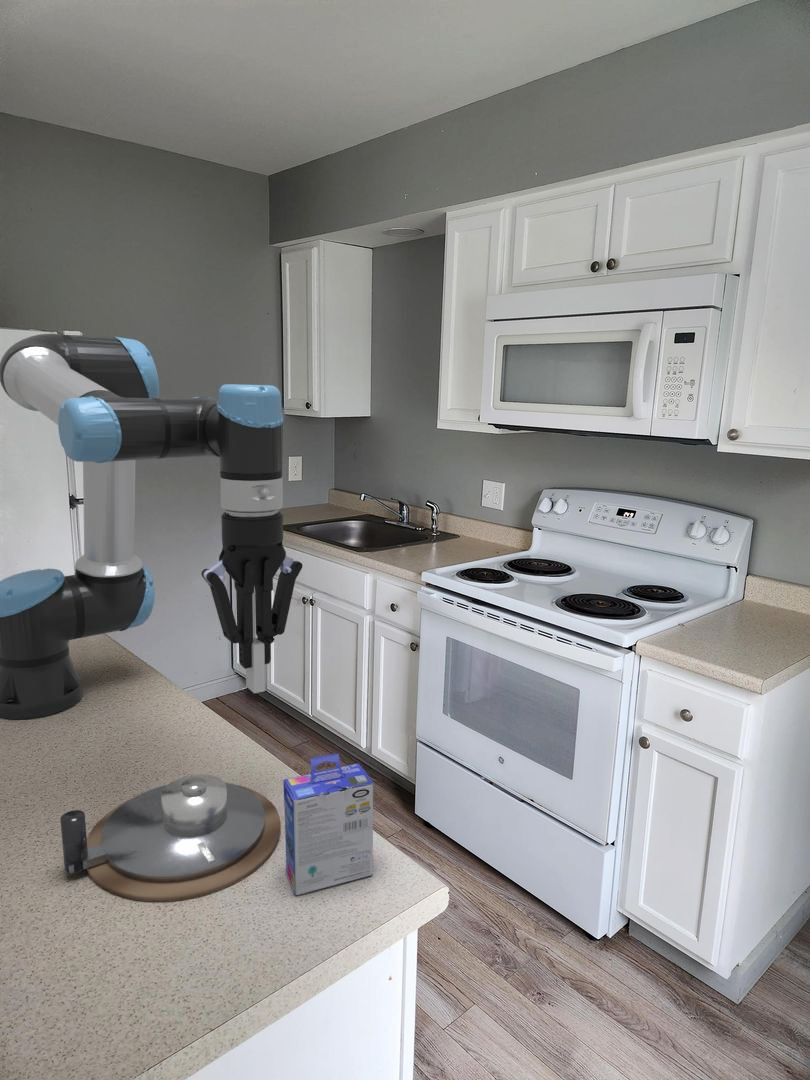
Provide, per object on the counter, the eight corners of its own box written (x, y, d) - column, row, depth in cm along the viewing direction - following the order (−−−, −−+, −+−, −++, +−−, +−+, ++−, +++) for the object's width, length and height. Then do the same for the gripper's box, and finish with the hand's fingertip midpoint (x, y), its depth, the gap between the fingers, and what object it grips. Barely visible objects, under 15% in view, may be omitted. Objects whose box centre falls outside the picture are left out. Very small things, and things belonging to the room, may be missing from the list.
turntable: (49, 827, 93) (45, 781, 92) (230, 773, 107) (229, 733, 106) (83, 921, 77) (79, 867, 76) (291, 844, 91) (290, 797, 90)
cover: (154, 813, 95) (152, 778, 94) (214, 795, 99) (213, 761, 98) (173, 845, 88) (172, 808, 87) (236, 824, 93) (235, 788, 92)
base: (66, 820, 96) (65, 815, 96) (238, 770, 110) (238, 765, 110) (111, 932, 77) (110, 925, 77) (313, 854, 91) (313, 848, 91)
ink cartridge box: (359, 849, 92) (360, 744, 89) (375, 876, 87) (377, 765, 84) (282, 868, 88) (281, 758, 85) (295, 897, 83) (294, 782, 80)
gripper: (212, 520, 84) (218, 710, 89) (313, 511, 91) (313, 688, 96) (190, 510, 90) (196, 689, 95) (286, 503, 97) (288, 669, 102)
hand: (255, 688), depth 96 cm, fingers closed
